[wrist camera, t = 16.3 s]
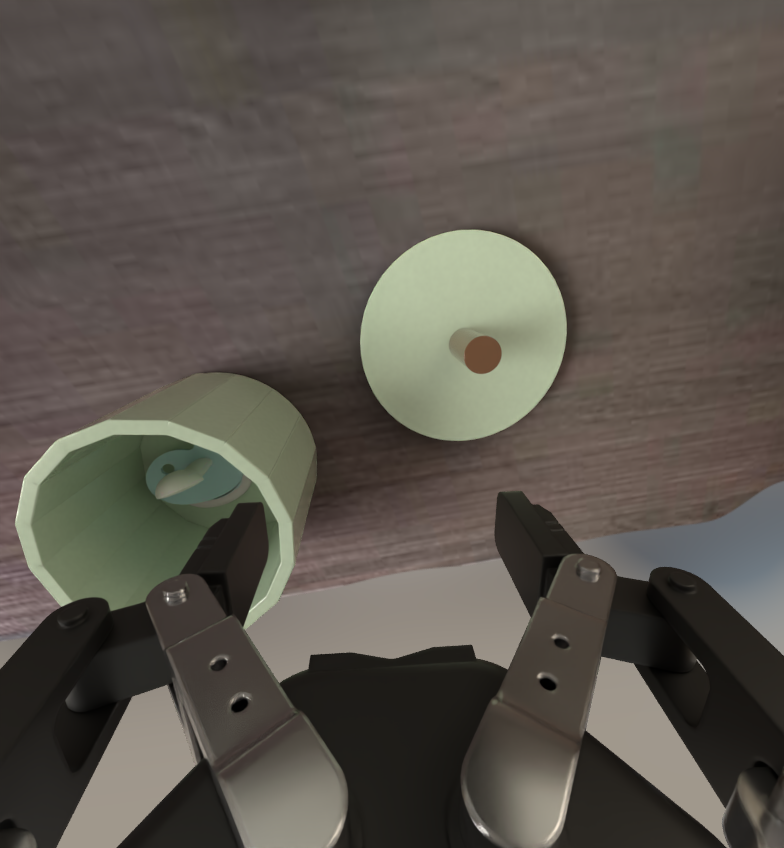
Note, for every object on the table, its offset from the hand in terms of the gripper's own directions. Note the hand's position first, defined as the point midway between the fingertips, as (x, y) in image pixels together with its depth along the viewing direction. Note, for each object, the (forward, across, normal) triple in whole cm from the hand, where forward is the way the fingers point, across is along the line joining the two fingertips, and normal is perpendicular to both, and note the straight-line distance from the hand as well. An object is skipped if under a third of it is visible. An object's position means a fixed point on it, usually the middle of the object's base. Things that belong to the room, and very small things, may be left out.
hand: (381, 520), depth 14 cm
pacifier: (+19, +13, +6) cm, 24 cm away
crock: (+19, +12, +6) cm, 23 cm away
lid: (+18, -7, -3) cm, 20 cm away
